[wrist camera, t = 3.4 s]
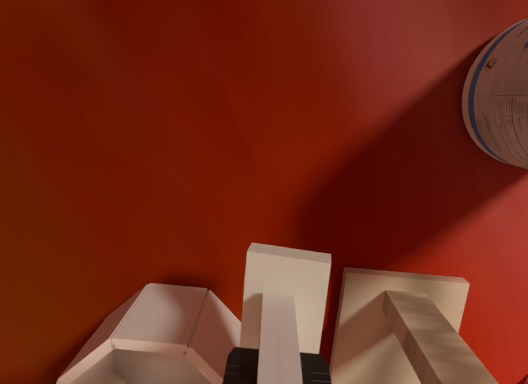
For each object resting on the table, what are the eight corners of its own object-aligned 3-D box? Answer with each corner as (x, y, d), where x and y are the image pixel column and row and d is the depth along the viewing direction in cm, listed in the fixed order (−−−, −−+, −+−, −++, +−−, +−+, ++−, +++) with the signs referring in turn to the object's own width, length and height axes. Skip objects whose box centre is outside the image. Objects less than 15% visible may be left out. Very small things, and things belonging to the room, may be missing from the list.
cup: (105, 278, 29) (53, 332, 22) (251, 292, 29) (245, 350, 22) (107, 402, 31) (60, 484, 25) (241, 414, 31) (232, 500, 25)
